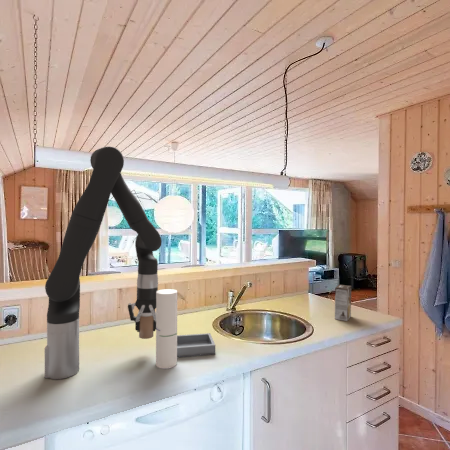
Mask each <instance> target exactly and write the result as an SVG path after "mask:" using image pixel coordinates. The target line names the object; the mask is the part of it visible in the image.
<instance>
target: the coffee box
mask: <svg viewBox="0 0 450 450" xmlns="http://www.w3.org/2000/svg"><path fill="white" fill-rule="evenodd" d="M334 289H335V290H334V319H335V320H339V321H343V322H344V321H345V322H348V321H349V320H350V318H351V316H352V285H345V284H338V285H336V287H335V288H334Z"/></svg>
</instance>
